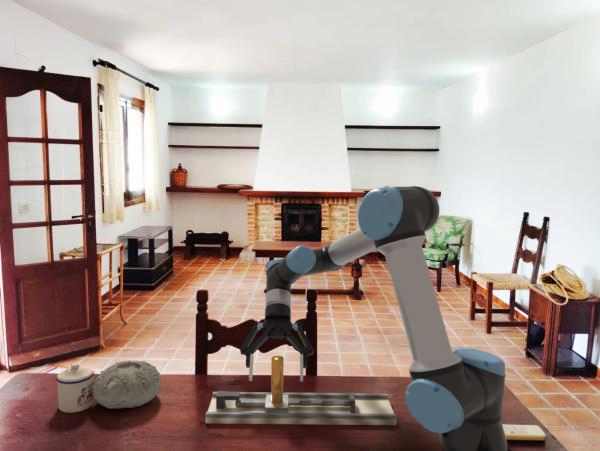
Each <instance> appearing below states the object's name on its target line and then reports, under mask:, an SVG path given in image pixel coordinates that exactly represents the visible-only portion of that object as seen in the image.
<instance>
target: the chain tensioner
mask: <svg viewBox="0 0 600 451" xmlns="http://www.w3.org/2000/svg"><path fill="white" fill-rule="evenodd" d="M284 359H285V358H284V356H282V355H273V356H272V357H271V368H270V369H271V371H270V372H271V375H270V376H271V378H270V384H271V385H270V392H271V395H267V394H266V399H239V400H236V402H235V407H265V412H288V405H299V406H310V405H311V406H350V400H310V399H299V400H288V395H283V393H284V367H285V366H284V363H285V362H284Z"/></svg>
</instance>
